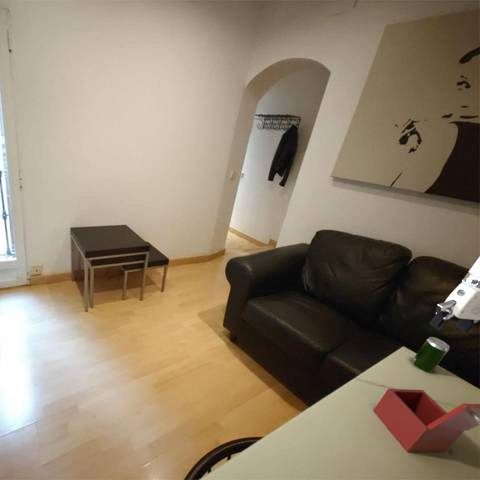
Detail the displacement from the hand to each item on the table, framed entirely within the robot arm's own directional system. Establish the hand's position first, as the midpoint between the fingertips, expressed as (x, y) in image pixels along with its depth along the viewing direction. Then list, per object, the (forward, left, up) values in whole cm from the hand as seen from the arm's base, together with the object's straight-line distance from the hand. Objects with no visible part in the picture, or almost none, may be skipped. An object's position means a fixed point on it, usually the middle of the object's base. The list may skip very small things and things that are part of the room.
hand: (447, 328), depth 84 cm
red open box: (+19, +28, -18) cm, 38 cm away
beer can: (0, 0, -18) cm, 18 cm away
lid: (+18, +33, -3) cm, 37 cm away
